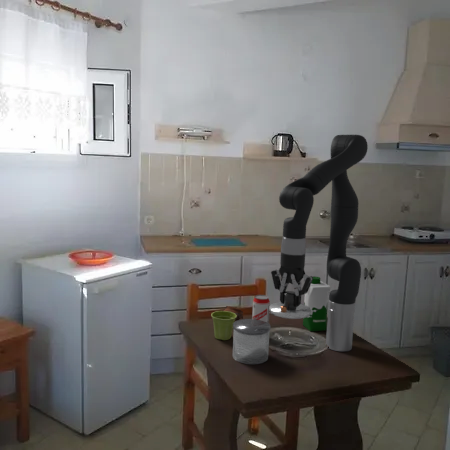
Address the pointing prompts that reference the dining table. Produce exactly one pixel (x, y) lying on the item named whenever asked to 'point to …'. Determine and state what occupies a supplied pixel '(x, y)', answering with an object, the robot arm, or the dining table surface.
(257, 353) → the cooker pot
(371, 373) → the dining table surface
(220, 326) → the plant pot
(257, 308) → the beer can
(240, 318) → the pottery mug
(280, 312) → the cooker lid
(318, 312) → the milk carton
